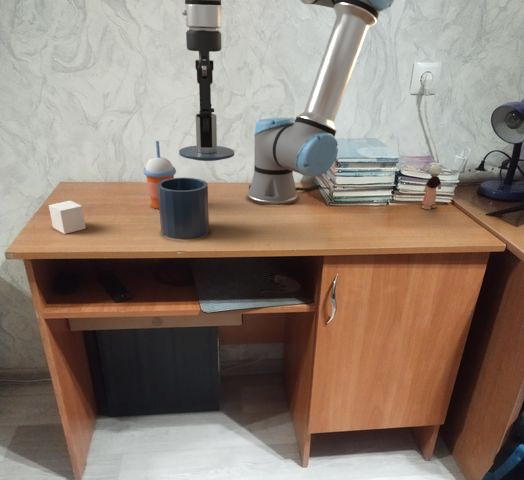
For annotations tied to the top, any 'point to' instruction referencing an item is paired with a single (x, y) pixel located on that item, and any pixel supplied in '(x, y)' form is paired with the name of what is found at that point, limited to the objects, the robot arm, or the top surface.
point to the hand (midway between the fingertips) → (206, 144)
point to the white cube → (67, 216)
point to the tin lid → (206, 153)
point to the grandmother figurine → (432, 187)
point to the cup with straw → (157, 175)
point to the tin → (183, 208)
